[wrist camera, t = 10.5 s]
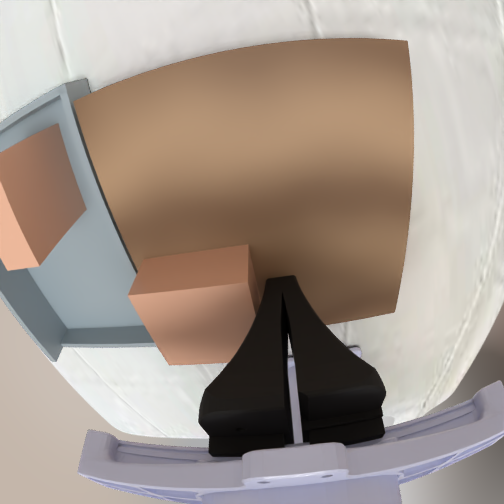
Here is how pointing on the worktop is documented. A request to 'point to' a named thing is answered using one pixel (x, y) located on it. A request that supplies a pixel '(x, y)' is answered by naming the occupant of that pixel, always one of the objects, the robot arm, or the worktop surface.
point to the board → (268, 164)
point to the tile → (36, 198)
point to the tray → (74, 251)
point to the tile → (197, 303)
